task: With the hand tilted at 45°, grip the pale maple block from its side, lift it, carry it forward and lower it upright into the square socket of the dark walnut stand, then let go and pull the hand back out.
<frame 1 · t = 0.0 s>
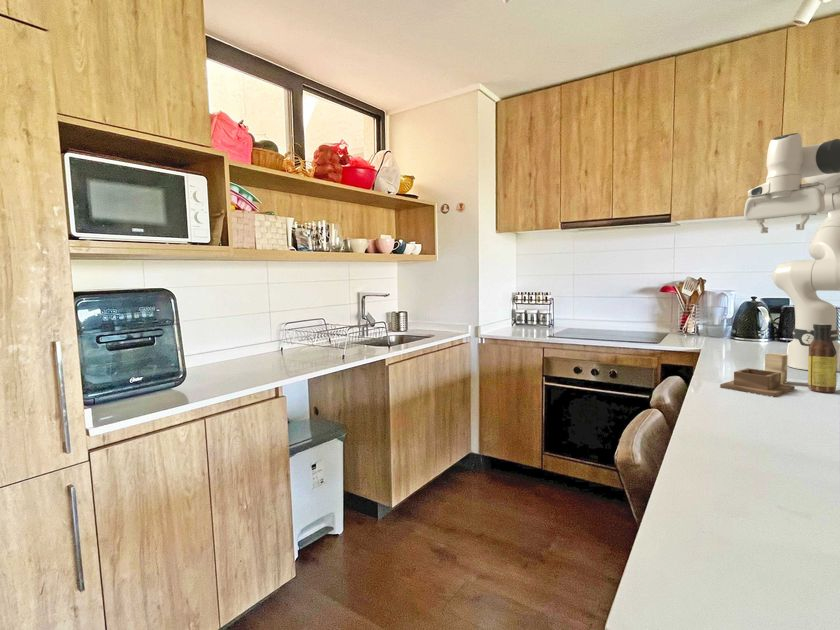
hand: (781, 231, 142), 48 cm above the countertop, tool pointing down, fingers open, 8 cm apart
walnut stand: (756, 388, 136), on the countertop
maple block: (775, 382, 143), on the countertop
sauce bottle: (821, 391, 132), on the countertop
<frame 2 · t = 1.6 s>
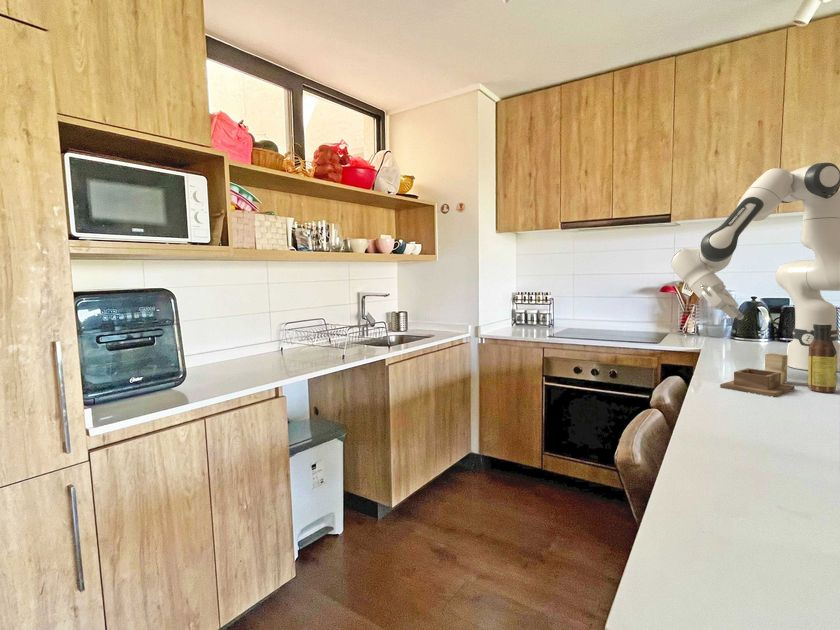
hand: (738, 318, 149), 20 cm above the countertop, tool tilted 40°, fingers open, 8 cm apart
nothing on the countertop moved.
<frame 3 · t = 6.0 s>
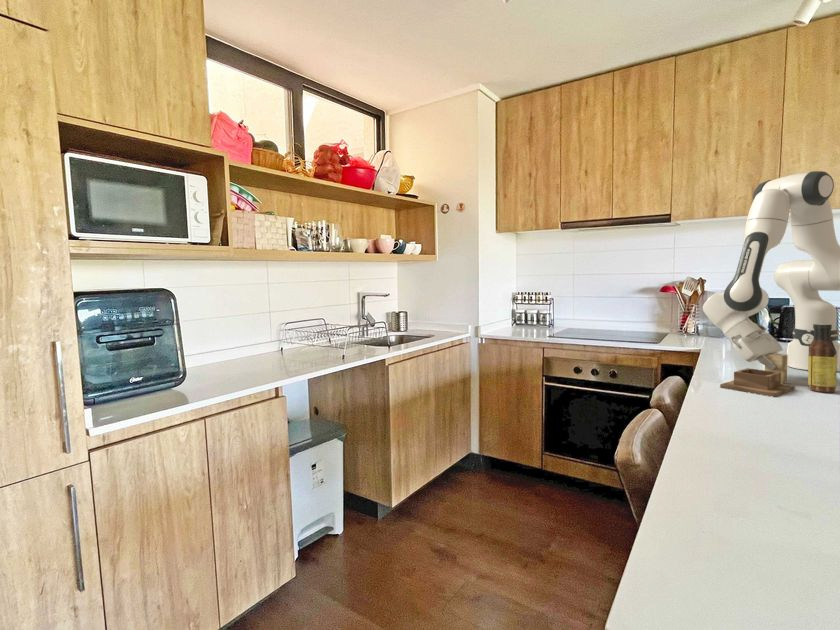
hand: (778, 367, 142), 5 cm above the countertop, tool tilted 45°, fingers closed on maple block, 4 cm apart
maple block: (775, 382, 143), on the countertop, touching gripper
everything else where it was.
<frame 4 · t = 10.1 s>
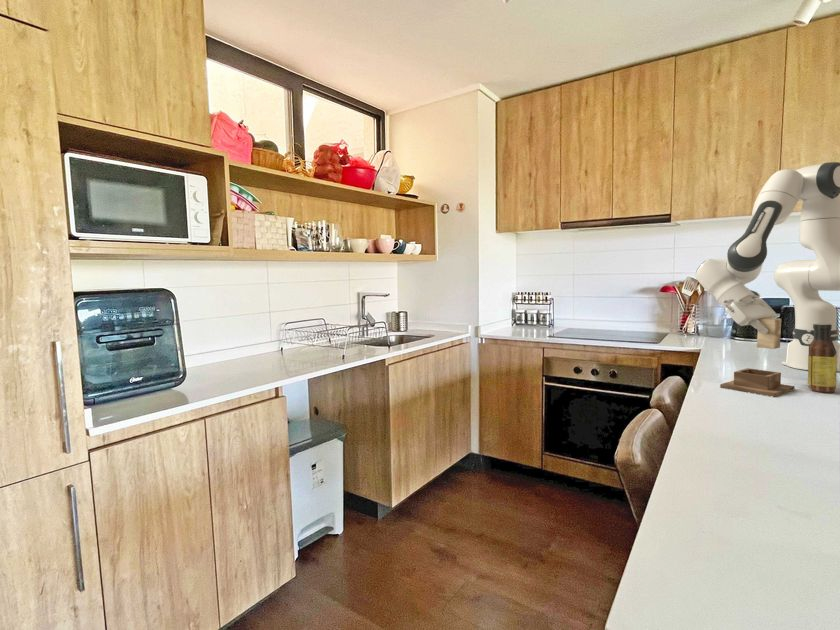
hand: (771, 332, 139), 17 cm above the countertop, tool tilted 45°, fingers closed on maple block, 4 cm apart
maple block: (768, 347, 140), point 12 cm above the countertop, touching gripper
everything else where it was.
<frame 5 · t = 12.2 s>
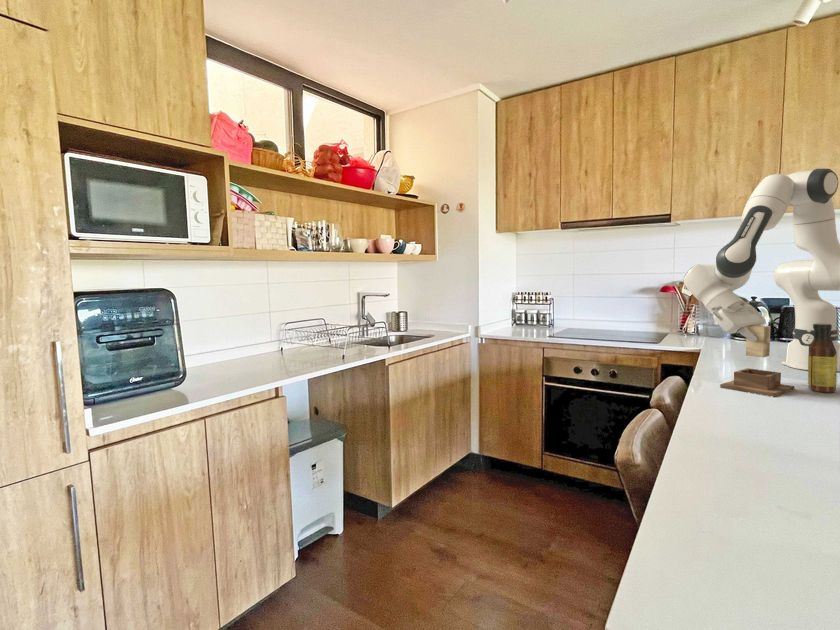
hand: (760, 339, 135), 15 cm above the countertop, tool tilted 45°, fingers closed on maple block, 4 cm apart
maple block: (757, 355, 136), point 10 cm above the countertop, touching gripper
everything else where it was.
when the fingers open (7 cm above the countertop, at t = 14.1 s): maple block drops 1 cm, resting on walnut stand.
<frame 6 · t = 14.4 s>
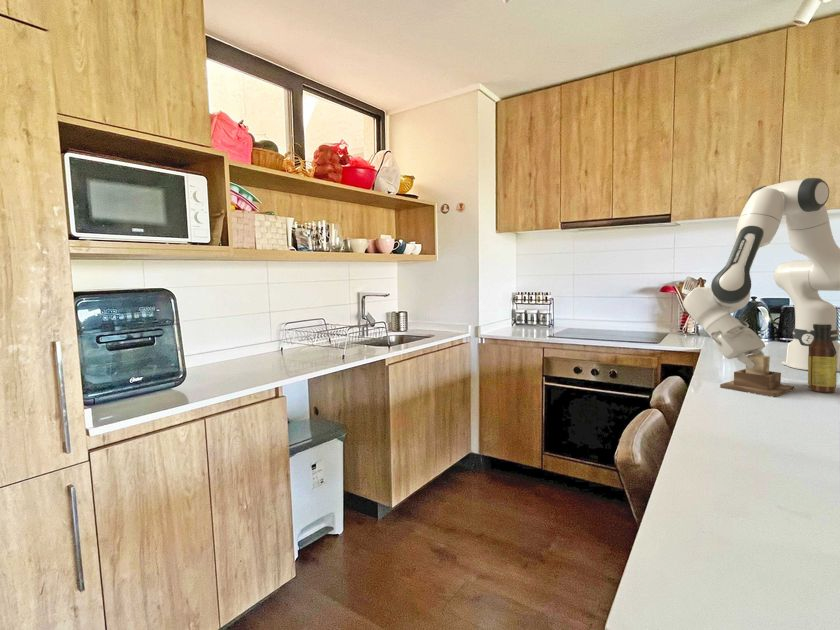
hand: (760, 364, 135), 7 cm above the countertop, tool tilted 45°, fingers open, 7 cm apart
maple block: (756, 385, 136), point 1 cm above the countertop, touching walnut stand
everything else where it was.
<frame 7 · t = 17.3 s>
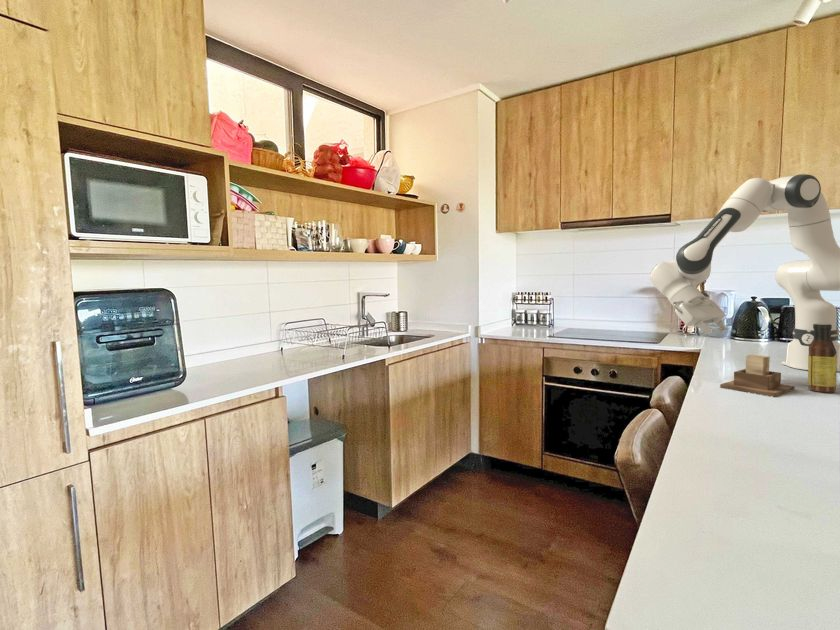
hand: (718, 331, 145), 16 cm above the countertop, tool tilted 45°, fingers open, 8 cm apart
nothing on the countertop moved.
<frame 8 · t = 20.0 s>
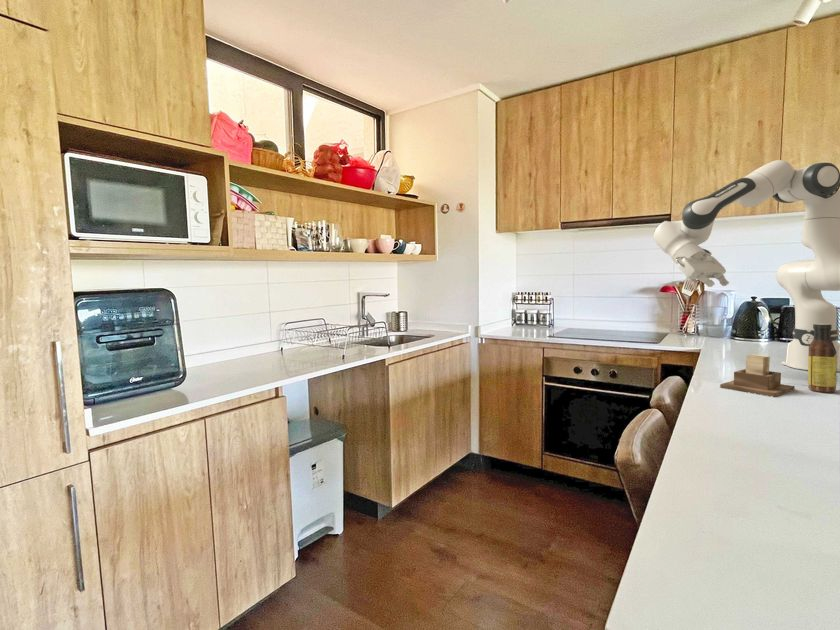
hand: (719, 285, 150), 31 cm above the countertop, tool tilted 45°, fingers open, 8 cm apart
nothing on the countertop moved.
at the end: maple block 0.1 cm off-centre on the walnut stand, point 1.0 cm above the walnut stand's base; maple block tilted 0°; the gripper is holding nothing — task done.
